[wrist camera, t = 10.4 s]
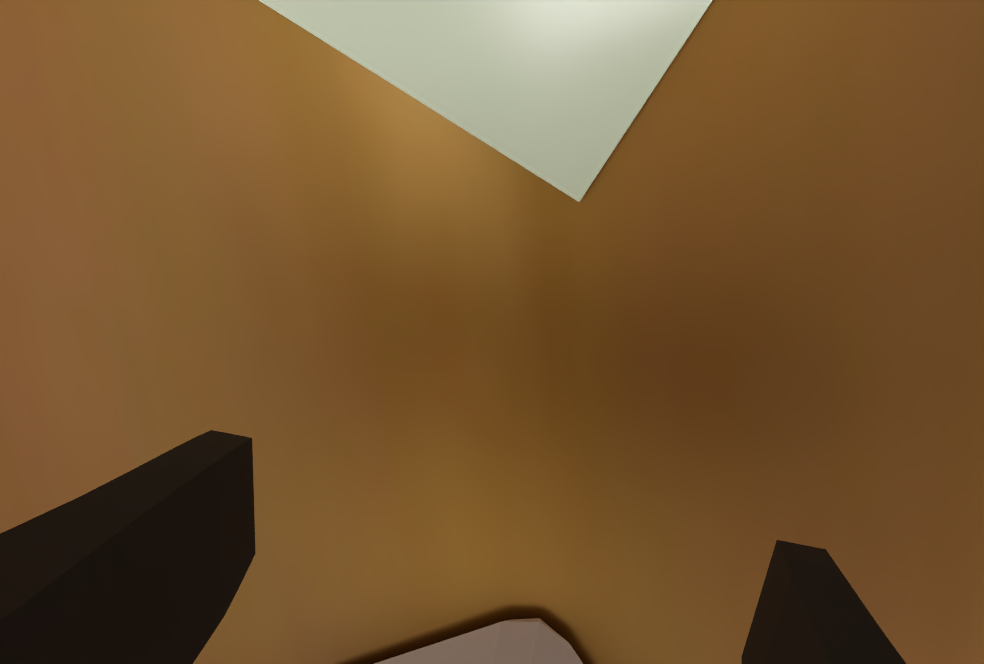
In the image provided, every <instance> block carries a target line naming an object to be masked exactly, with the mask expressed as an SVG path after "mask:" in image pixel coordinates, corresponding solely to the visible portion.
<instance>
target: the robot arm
mask: <svg viewBox="0 0 984 664" xmlns="http://www.w3.org/2000/svg"><path fill="white" fill-rule="evenodd" d="M254 555H255V524H254V490H253V455H252V438H249V437H244V436H239V435H234V434H228V433H223V432H218V431H213V430H211V431H209V432H206V433H204V434H202V435H200V436H197V437H195V438H193V439H191V440H189V441H187V442H185V443H183V444H181V445H179V446H177V447H175V448H173V449H172V450H170V451H168V452H166V453H164V454H162V455H160V456H158V457H156V458H154V459H152V460H150V461H149V462H147V463H145V464H143V465H141V466H139V467H137V468H135V469H133V470H131V471H129V472H127V473H125V474H124V475H122V476H120V477H118V478H116V479H114V480H112V481H110V482H108V483H106V484H104V485H102V486H100V487H98V488H96V489H94V490H92V491H90V492H88V493H86V494H84V495H82V496H80V497H78V498H76V499H74V500H72V501H70V502H68V503H66V504H63V505H61V506H59V507H57V508H55V509H53V510H51V511H48V512H46V513H44V514H42V515H40V516H38V517H36V518H33V519H31V520H29V521H27V522H25V523H23V524H20V525H18V526H16V527H14V528H12V529H10V530H8V531H5V532H3V533H1V534H0V664H193V662H194V661H195V659H196V658H197V656H198V655H199V653H200V652H201V650H202V649H203V647H204V646H205V644H206V643H207V641H208V640H209V638H210V637H211V635H212V634H213V632H214V631H215V629H216V628H217V626H218V625H219V623H220V622H221V620H222V619H223V617H224V615H225V614H226V612H227V610H228V608H229V606H230V604H231V602H232V600H233V598H234V596H235V594H236V592H237V590H238V588H239V586H240V584H241V582H242V580H243V578H244V576H245V574H246V572H247V570H248V568H249V566H250V563H251V561H252V559H253V557H254ZM742 664H906V663H905V661H904V660H903V659H902V657H901V656H900V655H899V653H898V652H897V651H896V649H895V648H894V647H893V645H892V644H891V642H890V641H889V640H888V638H887V637H886V635H885V634H884V633H883V631H882V630H881V628H880V627H879V626H878V624H877V623H876V621H875V620H874V618H873V617H872V616H871V614H870V613H869V611H868V610H867V608H866V607H865V606H864V604H863V603H862V601H861V600H860V598H859V597H858V595H857V594H856V593H855V591H854V590H853V588H852V587H851V585H850V584H849V582H848V581H847V579H846V578H845V577H844V575H843V574H842V572H841V571H840V569H839V568H838V566H837V565H836V564H835V562H834V561H833V559H832V558H831V556H830V555H829V554H828V552H827V551H826V549H821V548H815V547H810V546H805V545H800V544H795V543H790V542H785V541H779V540H777V542H776V545H775V548H774V552H773V555H772V558H771V561H770V565H769V568H768V571H767V575H766V578H765V581H764V585H763V588H762V591H761V595H760V598H759V601H758V605H757V608H756V611H755V615H754V618H753V621H752V624H751V628H750V631H749V634H748V638H747V641H746V644H745V648H744V651H743V654H742Z"/></svg>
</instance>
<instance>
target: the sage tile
mask: <svg viewBox="0 0 984 664" xmlns="http://www.w3.org/2000/svg"><path fill="white" fill-rule="evenodd" d="M259 1H261V2H262V3H264V4H266V5H267V6H269V7H270V8H272V9H273V10H275V11H277V12H278V13H280V14H281V15H283V16H285V17H286V18H288V19H289V20H291V21H292V22H294V23H296V24H297V25H299V26H300V27H302V28H304V29H305V30H307V31H308V32H310V33H312V34H313V35H315V36H316V37H318V38H319V39H321V40H323V41H324V42H326V43H327V44H329V45H331V46H332V47H334V48H335V49H337V50H339V51H340V52H342V53H343V54H345V55H346V56H348V57H350V58H351V59H353V60H354V61H356V62H358V63H359V64H361V65H362V66H364V67H365V68H367V69H369V70H370V71H372V72H373V73H375V74H377V75H378V76H380V77H381V78H383V79H385V80H386V81H388V82H389V83H391V84H392V85H394V86H396V87H397V88H399V89H400V90H402V91H404V92H405V93H407V94H408V95H410V96H412V97H413V98H415V99H416V100H418V101H419V102H421V103H423V104H424V105H426V106H427V107H429V108H431V109H432V110H434V111H435V112H437V113H438V114H440V115H442V116H443V117H445V118H446V119H448V120H450V121H451V122H453V123H454V124H456V125H458V126H459V127H461V128H462V129H464V130H465V131H467V132H469V133H470V134H472V135H473V136H475V137H477V138H478V139H480V140H481V141H483V142H484V143H486V144H488V145H489V146H491V147H492V148H494V149H496V150H497V151H499V152H500V153H502V154H504V155H505V156H507V157H508V158H510V159H511V160H513V161H515V162H516V163H518V164H519V165H521V166H523V167H524V168H526V169H527V170H529V171H531V172H532V173H534V174H535V175H537V176H538V177H540V178H542V179H543V180H545V181H546V182H548V183H550V184H551V185H553V186H554V187H556V188H557V189H559V190H561V191H562V192H564V193H565V194H567V195H569V196H570V197H572V198H573V199H575V200H577V201H578V202H580V200H581V199H582V197H583V196H584V194H585V193H586V191H587V190H588V188H589V187H590V185H591V184H592V182H593V181H594V179H595V178H596V176H597V174H598V173H599V171H600V170H601V168H602V167H603V165H604V164H605V162H606V161H607V159H608V158H609V156H610V155H611V153H612V152H613V150H614V149H615V147H616V146H617V144H618V143H619V141H620V140H621V138H622V137H623V135H624V134H625V132H626V131H627V129H628V128H629V126H630V125H631V123H632V121H633V120H634V118H635V117H636V115H637V114H638V112H639V111H640V109H641V108H642V106H643V105H644V103H645V102H646V100H647V99H648V97H649V96H650V94H651V93H652V91H653V90H654V88H655V87H656V85H657V84H658V82H659V81H660V79H661V78H662V76H663V75H664V73H665V72H666V70H667V68H668V67H669V65H670V64H671V62H672V61H673V59H674V58H675V56H676V55H677V53H678V52H679V50H680V49H681V47H682V46H683V44H684V43H685V41H686V40H687V38H688V37H689V35H690V34H691V32H692V31H693V29H694V28H695V26H696V25H697V23H698V22H699V20H700V19H701V17H702V15H703V14H704V12H705V11H706V9H707V8H708V6H709V5H710V3H711V2H712V0H259Z"/></svg>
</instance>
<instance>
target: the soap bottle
mask: <svg viewBox="0 0 984 664" xmlns="http://www.w3.org/2000/svg"><path fill="white" fill-rule="evenodd" d="M374 664H583V663H582V661H581V660H580V658H579V657H578V655H577V654H576V652H575V651H574V649H573V648H572V646H571V645H570V643H569V642H567V641H566V640H565V639H564V638H563V637H561V636H560V635H559V634H558V633H556V632H555V631H554V630H553V629H552V628H551V627H549V626H548V625H547V624H546V623H545V622H543V621H542V620H541V619H540V618H534V619H512V620H506V621H502V622H499V623H496V624H493V625H490V626H487V627H484V628H481V629H478V630H474V631H471V632H468V633H465V634H462V635H459V636H456V637H453V638H450V639H447V640H444V641H441V642H438V643H435V644H432V645H429V646H426V647H423V648H420V649H417V650H414V651H411V652H408V653H405V654H402V655H399V656H396V657H393V658H390V659H386V660H383V661H380V662H377V663H374Z"/></svg>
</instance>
